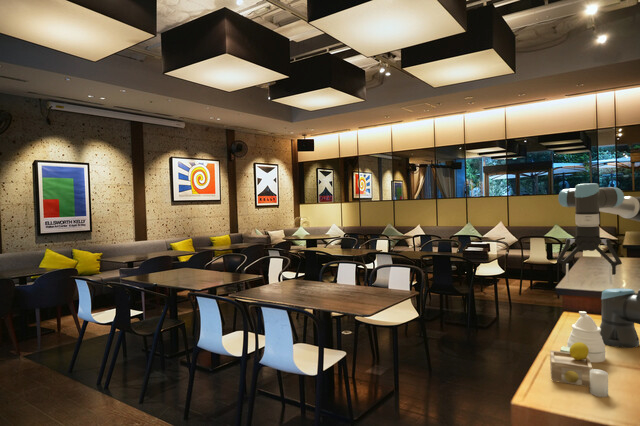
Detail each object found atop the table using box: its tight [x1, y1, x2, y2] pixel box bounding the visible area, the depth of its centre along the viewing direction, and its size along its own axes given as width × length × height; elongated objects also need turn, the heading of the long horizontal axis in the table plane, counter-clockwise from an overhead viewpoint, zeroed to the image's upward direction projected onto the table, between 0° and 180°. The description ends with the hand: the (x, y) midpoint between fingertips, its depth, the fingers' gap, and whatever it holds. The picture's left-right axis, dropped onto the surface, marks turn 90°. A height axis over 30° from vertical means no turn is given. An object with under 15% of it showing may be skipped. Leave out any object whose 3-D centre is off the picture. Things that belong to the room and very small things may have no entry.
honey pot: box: [566, 310, 606, 363], centre depth 169 cm, size 13×13×18 cm
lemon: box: [570, 342, 589, 360], centre depth 152 cm, size 6×6×8 cm
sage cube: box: [559, 345, 570, 353], centre depth 164 cm, size 5×5×5 cm
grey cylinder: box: [589, 368, 609, 398], centre depth 138 cm, size 5×5×7 cm
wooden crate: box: [549, 350, 593, 388], centre depth 150 cm, size 12×12×7 cm
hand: (588, 282), depth 158 cm, fingers open, 13 cm apart
